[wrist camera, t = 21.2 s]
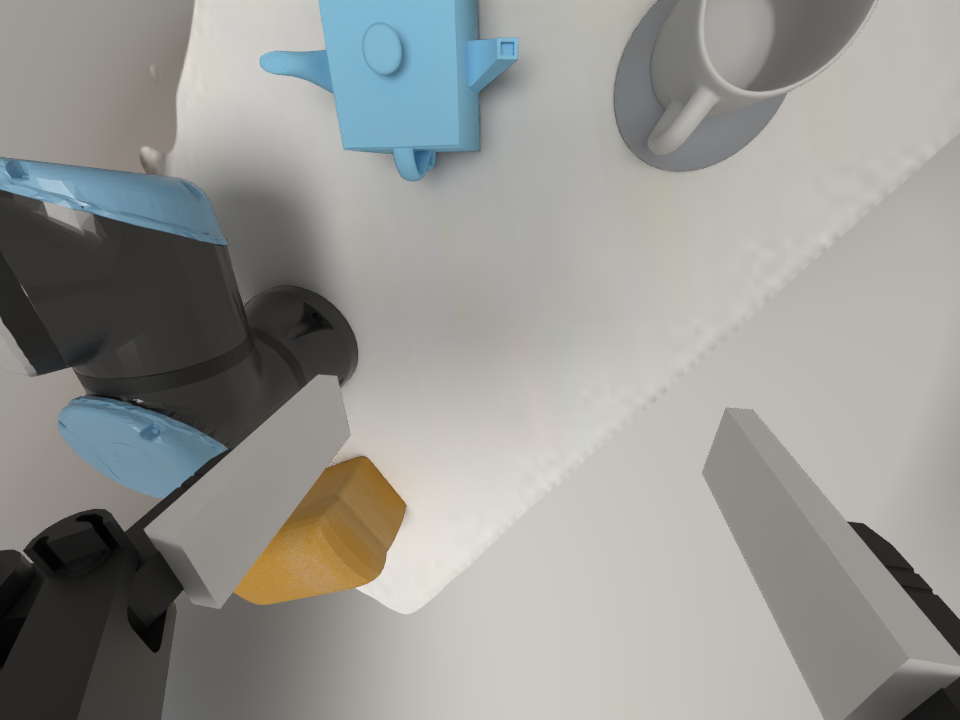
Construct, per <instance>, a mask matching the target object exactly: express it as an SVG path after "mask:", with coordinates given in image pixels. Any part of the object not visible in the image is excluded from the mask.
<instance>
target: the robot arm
mask: <svg viewBox="0 0 960 720" xmlns="http://www.w3.org/2000/svg"><path fill="white" fill-rule="evenodd" d="M227 245H228V241H227V239H225V238H224V237H223V234H222V231H221V228H220V226H219V223H218V220H217V217H216V215H215V212H214V209H213V206H212V203H211V201H210V199H209V197H208V196H207V195H206V193H205V192H204V191H203V190H202V189H201V188H199V187H198V186H197V185H195V184H193V183H192V182H190V181H187V180H184V179H180V178H175V177H167V176H159V175H150V174H142V173H133V172H124V171H115V170H107V169H99V168H91V167H81V166H73V165H65V164H57V163H48V162H39V161H30V160H21V159H13V158H4V157H0V370H4V371H8V372H12V373H17V374H21V375H25V376H29V377H34V376H39V375H42V374H47V373H50V372H54V371H58V370H62V369H65V368H70V367H72V368H73V370H74V372H75V373H76V375H77V377H78V378H79V380H80V382H81V384H82V386H83V387H84V389H85V391H86V396H84V397H82V396H80V397H78V398H75V399H73V400H71V401H70V402H69V404H68V406H66V407H65V408H63V409H62V410H61V411H60V413H59V416H58V418H59V420H58V429H59V431H60V433H61V435H62V437H63V438H64V440H65V441H66V443H67V444H68V445H69V446H70V447H71V448H72V449H73V450H74V451H75V452H76V453H77V454H78V455H79V456H80V457H81V458H82V459H83V460H84V461H86V462H87V463H88V464H90V465H91V466H92V467H94V468H95V469H96V470H98V471H99V472H101V473H102V474H104V475H105V476H107V477H109V478H111V479H112V480H114V481H116V482H118V483H120V484H122V485H124V486H126V487H128V488H130V489H133V490H135V491H137V492H140V493H143V494H146V495H149V496H153V497H156V498H161V499H163V500H162V501H161V502H160V503H158V504H157V505H156V506H155V507H154V508H152V509H151V510H150V511H149V512H148V513H147V514H146V515H144V516H143V517H142V518H141V519H140V520H139V521H137V522H136V523H135V524H134V525H133V526H131V527H130V528H129V529H128V530H127V531H125V532H124V531H123V530H122V528H121V527H120V525H119V524H118V523H117V521H116V520H115V518H114V517H113V516H112V514H111V513H109V512H108V511H107V510H105V509H92V510H87V511H83V512H79V513H77V514H74V515H71V516H69V517H67V518H64V519H62V520H60V521H58V522H57V523H55V524H53V525H52V526H50V527H48V528H46V529H45V530H44V531H43V532H41V533H40V534H39V535H38V536H36V537H35V538H34V539H32V540H31V542H30V543H29V544H28V545H27V546H26V548H25V549H24V550H23V551H24V552H25V553H26V555H27V556H28V557H29V558H30V559H31V560H32V561H33V562H34V563H29V561H28V560H27V559H26V558H25V557H24V556H23V555H22V554H21V553H20V552H18V551H16V550H2V551H0V720H161V715H162V708H163V701H164V695H165V688H166V681H167V674H168V667H169V660H170V653H171V646H172V639H173V632H174V626H175V619H176V605H175V603H174V600H175V599H176V597H177V596H178V595H179V594H180V593H181V591H183V590H184V591H185V592H186V594H187V595H188V597H189V598H190V600H191V601H192V603H193V604H198V605H203V606H208V607H213V608H218V609H220V608H221V607H222V606H223V604H224V603H225V602H226V600H227V599H228V598H229V596H230V595H231V594H232V592H233V591H234V590H235V588H236V587H237V586H238V584H239V583H240V582H241V580H242V579H243V578H244V576H245V575H246V574H247V572H248V571H249V570H250V568H251V567H252V566H253V564H254V563H255V562H256V560H257V559H258V558H259V556H260V555H261V554H262V552H263V551H264V550H265V548H266V547H267V546H268V544H269V543H270V542H271V540H272V539H273V538H274V536H275V535H276V534H277V532H278V531H279V530H280V528H281V527H282V526H283V524H284V523H285V522H286V520H287V519H288V518H289V516H290V515H291V514H292V512H293V511H294V510H295V508H296V507H297V506H298V504H299V503H300V502H301V500H302V499H303V498H304V496H305V495H306V494H307V492H308V491H309V490H310V488H311V487H312V486H313V484H314V483H315V482H316V480H317V479H318V478H319V476H320V475H321V474H322V472H323V471H324V470H325V468H326V467H327V466H328V464H329V463H330V462H331V460H332V459H333V458H334V456H335V455H336V454H337V452H338V451H339V450H340V448H341V447H342V446H343V444H344V443H345V442H346V440H347V439H348V438H349V436H350V435H351V434H350V430H349V425H348V421H347V416H346V412H345V408H344V403H343V399H342V395H341V390H340V388H341V387H342V386H343V385H344V384H345V383H346V382H347V381H348V380H349V378H350V377H351V376H352V374H353V372H354V370H355V368H356V364H357V357H358V353H357V345H356V341H355V337H354V335H353V332H352V330H351V328H350V326H349V325H348V323H347V321H346V320H345V319H344V317H343V316H342V315H341V313H340V312H339V311H338V310H337V309H336V308H335V307H334V306H333V305H332V304H330V303H329V302H328V301H327V300H325V299H324V298H322V297H321V296H319V295H317V294H315V293H313V292H311V291H309V290H306V289H303V288H299V287H293V286H280V287H275V288H272V289H269V290H267V291H265V292H263V293H260V294H258V295H256V296H255V297H253V298H252V299H251V300H249V301H248V302H247V303H246V304H245V306H243V303H242V299H241V296H240V292H239V289H238V286H237V282H236V279H235V275H234V272H233V268H232V264H231V261H230V257H229V253H228V250H227ZM702 474H703V476H704V478H705V480H706V482H707V484H708V486H709V488H710V490H711V492H712V494H713V496H714V498H715V500H716V502H717V504H718V506H719V509H720V510H721V512H722V515H723V517H724V519H725V520H726V523H727V525H728V527H729V529H730V531H731V532H732V535H733V537H734V539H735V541H736V543H737V545H738V547H739V549H740V551H741V553H742V555H743V557H744V559H745V561H746V563H747V565H748V567H749V569H750V571H751V573H752V575H753V577H754V579H755V581H756V583H757V585H758V587H759V589H760V591H761V593H762V595H763V597H764V599H765V601H766V603H767V605H768V607H769V609H770V611H771V613H772V615H773V617H774V619H775V621H776V623H777V625H778V627H779V629H780V631H781V633H782V635H783V637H784V639H785V641H786V643H787V646H788V647H789V650H790V651H791V654H792V656H793V658H794V659H795V662H796V664H797V666H798V668H799V670H800V672H801V674H802V676H803V678H804V680H805V682H806V684H807V686H808V688H809V690H810V692H811V694H812V696H813V698H814V700H815V702H816V704H817V706H818V708H819V710H820V712H821V714H822V716H823V718H824V720H960V619H958V617H957V616H956V615H955V614H954V613H953V612H952V611H951V609H950V608H949V607H948V606H947V605H946V604H945V603H944V602H943V601H942V600H941V598H940V597H939V596H938V595H934V594H933V592H932V589H931V588H930V586H929V585H928V584H927V583H926V582H925V581H924V580H923V579H922V578H921V577H920V575H919V574H915V573H914V569H913V568H912V566H911V565H910V564H909V563H908V562H907V561H906V560H905V559H904V558H903V557H902V556H901V554H900V553H899V552H898V551H897V550H896V549H895V548H894V547H893V545H891V544H890V543H889V542H887V541H886V540H885V539H883V538H882V537H881V536H879V535H878V534H877V533H875V532H874V531H873V530H871V529H870V528H869V527H867V526H866V525H865V524H863V523H855V522H847V521H846V520H845V519H844V518H843V516H842V515H841V514H840V513H839V512H838V510H837V509H836V508H835V507H834V506H833V505H832V503H831V502H830V501H829V500H828V499H827V498H826V496H825V495H824V494H823V493H822V492H821V490H820V489H819V488H818V487H817V485H816V484H815V483H814V482H813V481H812V479H811V478H810V477H809V476H808V475H807V473H805V471H804V470H803V469H802V468H801V466H800V465H799V464H798V463H797V462H796V460H795V459H794V458H793V457H792V456H791V455H790V453H789V452H788V451H787V450H786V448H785V447H784V446H783V445H782V444H781V442H780V441H779V440H778V439H777V438H776V437H775V435H774V434H773V433H772V432H771V431H770V429H769V428H768V427H767V426H766V425H765V423H764V422H763V421H762V420H761V419H760V418H759V416H758V415H757V414H756V413H755V411H754V410H750V409H739V408H727V407H726V408H725V411H724V414H723V417H722V419H721V422H720V425H719V428H718V430H717V433H716V436H715V438H714V441H713V444H712V446H711V449H710V452H709V455H708V457H707V460H706V463H705V465H704V468H703V471H702Z"/></svg>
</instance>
